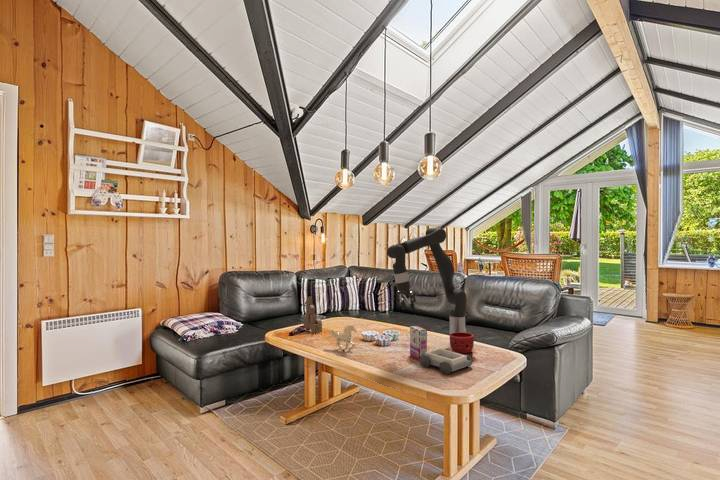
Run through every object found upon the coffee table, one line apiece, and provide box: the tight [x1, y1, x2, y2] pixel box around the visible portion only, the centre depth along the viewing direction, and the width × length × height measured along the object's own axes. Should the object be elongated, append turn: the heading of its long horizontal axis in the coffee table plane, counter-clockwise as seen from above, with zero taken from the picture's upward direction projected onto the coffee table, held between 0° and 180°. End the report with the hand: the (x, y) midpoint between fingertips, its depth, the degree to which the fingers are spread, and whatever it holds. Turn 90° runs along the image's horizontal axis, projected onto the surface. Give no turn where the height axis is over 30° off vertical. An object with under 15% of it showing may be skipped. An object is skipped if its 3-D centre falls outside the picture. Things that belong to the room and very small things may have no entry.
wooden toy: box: [302, 296, 323, 334], centre depth 271 cm, size 16×7×25 cm, turn 43°
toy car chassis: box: [419, 347, 473, 375], centre depth 196 cm, size 18×20×6 cm
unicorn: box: [329, 323, 358, 351], centre depth 226 cm, size 20×4×17 cm, turn 57°
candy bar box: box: [409, 325, 428, 362], centre depth 211 cm, size 11×5×16 cm, turn 21°
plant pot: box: [449, 332, 475, 358], centre depth 213 cm, size 13×13×12 cm
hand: (408, 309), depth 210 cm, fingers open, 8 cm apart
